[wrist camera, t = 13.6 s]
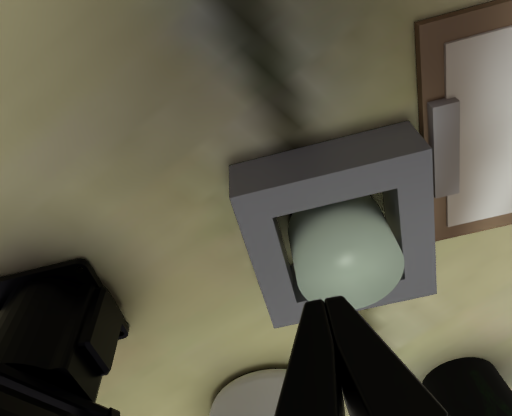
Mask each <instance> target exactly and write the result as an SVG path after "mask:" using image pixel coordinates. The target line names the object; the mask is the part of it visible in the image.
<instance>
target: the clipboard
mask: <svg viewBox="0 0 512 416" xmlns="http://www.w3.org/2000/svg"><path fill="white" fill-rule="evenodd" d="M414 25H415V46H416V67H417V87H418V108H419V129H420V135H421V136H422V137H423V138H424V140H425V141H426V142H427V143H428V144H429V146H430V147H431V148H432V161H433V192H434V224H435V241H439V240H444V239H448V238H452V237H457V236H461V235H466V234H470V233H475V232H479V231H484V230H488V229H493V228H497V227H501V226H506V225H510V224H512V0H495V1H491V2H487V3H484V4H480V5H476V6H473V7H469V8H465V9H462V10H458V11H454V12H451V13H447V14H443V15H439V16H436V17H432V18H428V19H425V20H421V21H417V22H414Z"/></svg>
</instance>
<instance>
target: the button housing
mask: <svg viewBox="0 0 512 416" xmlns="http://www.w3.org/2000/svg"><path fill="white" fill-rule="evenodd" d="M380 192H383V201H384V210H385V219H386V221H387V223H388V225H389V227H390V229H391V231H392V233H393V235H394V237H395V239H396V241H397V243H398V245H399V247H400V249H401V251H402V253H403V256H404V271H403V274H402V277H401V279H400V281H399V282H398V284H397V285H396V287H395V288H394V289H393V290H392V291H391V292H390V293H389V294H388V295H387V296H385V297H384V298H382V299H381V300H379V301H377V302H376V303H374V304H371V305H369V306H366V307H364V308H360V309H355V310H356V311H359V310H363V309H368V308H373V307H377V306H382V305H387V304H391V303H396V302H401V301H405V300H410V299H415V298H419V297H424V296H429V295H433V294H437V287H436V255H435V224H434V192H433V161H432V148H431V147H430V146H429V144H428V143H427V142H426V141H425V140H424V138H423V137H422V136H421V135H420V134H419V132H418V131H417V130H416V129H415V128H414V126H413V125H412V124H411V123H410V122H409V121H405V122H401V123H397V124H393V125H389V126H385V127H381V128H377V129H373V130H369V131H365V132H361V133H357V134H353V135H349V136H345V137H341V138H337V139H333V140H329V141H325V142H321V143H317V144H313V145H309V146H305V147H301V148H297V149H293V150H289V151H285V152H282V153H278V154H274V155H270V156H266V157H262V158H258V159H254V160H250V161H246V162H242V163H238V164H234V165H230V166H229V198H230V201H231V204H232V207H233V210H234V213H235V216H236V219H237V222H238V225H239V228H240V230H241V233H242V236H243V239H244V242H245V245H246V248H247V251H248V254H249V257H250V259H251V262H252V265H253V268H254V271H255V274H256V277H257V280H258V283H259V286H260V289H261V291H262V294H263V297H264V300H265V303H266V306H267V309H268V312H269V315H270V318H271V321H272V323H273V326H274V328H279V327H284V326H288V325H293V324H298V323H299V321H300V318H301V314H302V310H303V307H304V304H305V302H307V301H308V300H307V299H306V298H305V297H304V296H303V295H302V293H301V291H300V290H299V287H298V285H297V279H296V274H295V269H294V265H290V263H289V260H288V256H287V253H286V249H285V246H284V242H283V238H282V235H281V231H280V228H279V224H278V221H277V217H279V216H283V215H287V214H291V213H295V212H300V211H304V210H308V209H312V208H316V207H321V206H325V205H329V204H333V203H337V202H342V201H346V200H350V199H354V198H358V197H363V196H367V195H371V194H375V193H380Z"/></svg>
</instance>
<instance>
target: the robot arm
mask: <svg viewBox="0 0 512 416" xmlns="http://www.w3.org/2000/svg"><path fill="white" fill-rule="evenodd" d="M78 267H81V268H83V269H80V268H78ZM123 318H124V316H123V314H122V313H121V311H120V309H119V308H118V306H117V304H116V303H115V301H114V300H113V298H112V296H111V295H110V293H109V291H108V290H107V289H106V288H105V287H104V286H103V285H102V283H101V282H100V280H99V278H98V277H97V275H96V274H95V272H94V270H93V269H92V267H91V265H90V264H89V263H88V262H87V261H86V260H84V259H75V260H71V261H67V262H62V263H58V264H54V265H50V266H46V267H41V268H37V269H33V270H29V271H25V272H21V273H16V274H12V275H8V276H4V277H0V416H120V411H118V410H115V409H113V408H111V407H110V408H109V409H108V408H106V407H104V406H102V405H99V404H97V403H95V402H96V398H97V394H98V390H99V387H100V383H101V379H102V376H104V375H107V374H108V373H109V372H110V370H111V366H112V362H113V358H114V354H115V350H116V346H117V342H118V340H119V339H124V338H126V337H127V336H128V332H129V327H128V325H127V324H126V322H125V320H124V319H123ZM342 392H343V394H342ZM343 396H344V400H345V403H346V406H347V409H348V412H349V415H350V416H448V412H447V411H446V410H445V409H444V408H443V407H442V405H441V404H440V403H439V402H438V401H437V400H436V399H435V398H434V397H433V395H432V394H431V393H430V392H429V391H428V390H427V389H426V388H425V386H424V385H423V384H422V383H421V382H420V381H419V380H418V379H417V378H416V376H415V375H414V374H413V373H412V372H411V371H410V370H409V369H408V368H407V366H406V365H405V364H404V363H403V362H402V361H401V360H400V359H399V358H398V356H397V355H396V354H395V353H394V352H393V351H392V350H391V349H390V347H389V346H388V345H387V344H386V343H385V342H384V341H383V340H382V339H381V337H380V336H379V335H378V334H377V333H376V332H375V331H374V330H373V329H372V327H371V326H370V325H369V324H368V323H367V322H366V321H365V320H364V319H363V317H362V316H361V315H360V314H359V313H358V312H357V311H356V310H355V308H354V307H353V306H352V305H351V304H350V303H349V302H348V301H347V300H346V298H344V297H343V296H334V297H329V298H326V299H325V300H324V301H323V300H322V299H318V300H312V301H307V302H305V304H304V307H303V310H302V314H301V318H300V321H299V325H298V329H297V333H296V336H295V340H294V344H293V348H292V351H291V355H290V359H289V362H288V366H287V370H286V374H285V377H284V381H283V385H282V389H281V392H280V396H279V400H278V403H277V407H276V411H275V415H274V416H345V408H344V400H343Z"/></svg>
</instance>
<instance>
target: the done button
mask: <svg viewBox="0 0 512 416" xmlns="http://www.w3.org/2000/svg"><path fill="white" fill-rule="evenodd" d="M288 236H289V242H290V247H291V253H292V258H293V263H294V269H295V274H296V279H297V285H298V287H299V290H300V291H301V293H302V295H303V296H304V297H305V298H306V299H307V300H308V301H312V300H318V299H322V300H323V301H324V300H325V299H326V298H329V297H334V296H343V297H344V298H346V300H347V301H348V302H349V303H350V304H351V305H352V306H353V307H354V308H355V309H360V308H364V307H366V306H369V305H371V304H374V303H376V302H377V301H379V300H381V299H382V298H384V297H385V296H387V295H388V294H389V293H390V292H391V291H392V290H393V289H394V288H395V287H396V285H397V284H398V282H399V281H400V279H401V277H402V274H403V271H404V256H403V253H402V251H401V249H400V247H399V245H398V243H397V241H396V239H395V237H394V235H393V233H392V231H391V229H390V227H389V225H388V223H387V221H386V219H385V217H384V215H383V213H382V211H381V209H380V207H379V205H378V204H377V202H376V201H375V200H374V199H373V198H372V197H371V196H369V195H367V196H363V197H358V198H354V199H350V200H346V201H342V202H337V203H333V204H329V205H325V206H321V207H316V208H312V209H308V210H304V211H300V212H295V213H293V214H292V216H291V218H290V221H289V225H288Z"/></svg>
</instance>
